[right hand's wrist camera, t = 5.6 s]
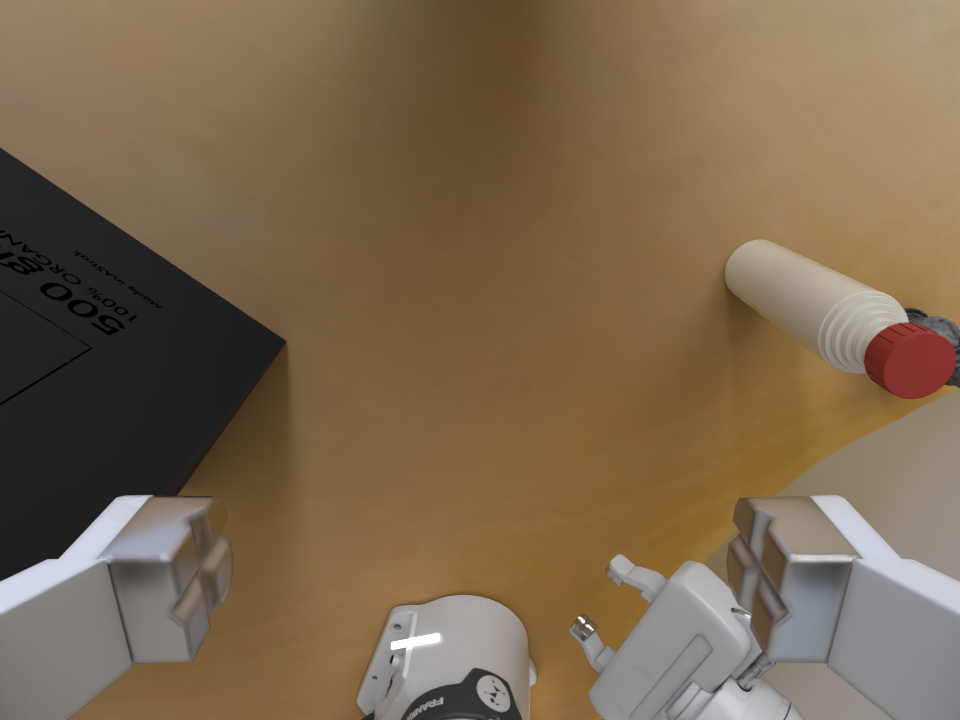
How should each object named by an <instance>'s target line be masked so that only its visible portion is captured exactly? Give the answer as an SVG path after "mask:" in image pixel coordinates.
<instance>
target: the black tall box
mask: <svg viewBox="0 0 960 720" xmlns="http://www.w3.org/2000/svg"><path fill="white" fill-rule="evenodd" d="M3 235H5V237H4V238H3V239H2V236H3ZM9 238H12V239H13V242H14V243H13V245H12V244H11V243H12V240H11V239H9ZM16 242H19V243H20V244H17V245H15V246H14V244H15V243H16ZM25 247H26V251H28V252H23V251H22V250H24V251H25ZM29 250H31V252H30V251H29ZM37 256H40V257H41V258H42V259H41V258H38V257H37ZM34 258H36V261H35V260H34ZM19 260H22V261H24V263H25V265H24V264H23V263H22V262H20V261H19ZM35 262H36V263H38V264H39V265H37V264H36V263H35ZM17 263H18V264H20V265H21V266H24V267H23V268H22V267H20V266H16V265H17ZM41 263H44V264H41ZM45 263H47V264H51V265H45ZM28 265H30V266H32V268H33V272H30V271H31V268H30V267H27V266H28ZM52 267H54V269H53V270H52V271H53V272H52V271H51V268H52ZM56 267H58V268H59V270H60V273H57V272H56V271H58V269H56ZM25 268H27V273H30V274H29V275H27V274H26V273H25V271H24V270H25ZM35 271H37V272H36V273H34V272H35ZM62 274H65V275H66V277H65V276H63V277H65V279H64V278H63V277H62ZM67 281H70V282H74V283H69V282H67ZM76 282H77V284H75V283H76ZM79 282H80V283H81V284H79ZM46 283H48V284H50V283H51V285H50V287H49V286H48V285H47V284H46ZM54 283H56V285H55V287H52V286H53V284H54ZM78 284H79V285H78ZM58 285H60V286H58ZM0 290H1V291H3V292H4V293H6V294H7V295H9V296H11V297H12V298H14V299H15V300H17V301H19V302H20V303H22V304H23V305H25V306H27V307H28V308H26V307H25V306H23V305H21V304H20V303H18V302H17V301H15V300H13V299H12V298H10V297H9V296H7V295H5V294H4V293H2V292H1V291H0V582H1V581H3V580H5V579H7V578H9V577H11V576H13V575H15V574H18V573H20V572H22V571H24V570H26V569H28V568H30V567H32V566H34V565H37V564H39V563H41V562H43V561H45V560H47V559H59V558H60V557H61V556H62V555H63V554H64V553H65V551H66V550H67V549H68V548H69V547H70V546H71V545H72V544H73V543H74V542H75V541H76V540H77V539H78V538H79V537H80V536H81V535H82V533H83V532H84V531H85V530H86V529H87V528H88V527H89V526H90V525H91V524H92V523H93V522H94V521H95V520H96V519H97V518H98V517H99V515H100V514H101V513H102V512H103V511H104V510H105V509H106V508H107V507H108V506H109V505H110V504H111V503H112V502H113V501H114V500H115V499H116V498H117V497H121V496H125V495H153V496H157V495H160V496H177V495H178V493H179V492H180V491H181V489H182V488H183V487H184V485H185V484H186V482H187V481H188V480H189V478H190V477H191V475H192V474H193V472H194V471H195V470H196V468H197V467H198V465H199V464H200V463H201V461H202V460H203V458H204V457H205V456H206V454H207V453H208V451H209V450H210V449H211V447H212V446H213V444H214V443H215V442H216V440H217V439H218V437H219V436H220V434H221V433H222V432H223V430H224V429H225V427H226V426H227V425H228V423H229V422H230V420H231V419H232V418H233V416H234V415H235V413H236V412H237V411H238V409H239V408H240V406H241V405H242V404H243V402H244V401H245V399H246V398H247V396H248V395H249V394H250V392H251V391H252V389H253V388H254V387H255V385H256V384H257V382H258V381H259V380H260V378H261V377H262V375H263V374H264V373H265V371H266V370H267V368H268V367H269V366H270V364H271V363H272V361H273V360H274V358H275V357H276V356H277V354H278V353H279V351H280V350H281V349H282V347H283V346H284V344H285V343H286V342H287V341H285V340H284V339H282V338H281V337H279V336H278V335H276V334H275V333H273V332H272V331H270V330H269V329H267V328H266V327H265V326H263V325H262V324H260V323H259V322H257V321H256V320H254V319H253V318H251V317H250V316H248V315H247V314H245V313H244V312H242V311H241V310H239V309H238V308H236V307H235V306H233V305H232V304H230V303H229V302H228V301H226V300H225V299H223V298H222V297H220V296H219V295H217V294H216V293H214V292H213V291H211V290H210V289H208V288H207V287H205V286H204V285H202V284H201V283H199V282H198V281H196V280H195V279H193V278H192V277H191V276H189V275H188V274H186V273H185V272H183V271H182V270H180V269H179V268H177V267H176V266H174V265H173V264H171V263H170V262H168V261H167V260H165V259H164V258H162V257H161V256H159V255H158V254H157V253H155V252H154V251H152V250H151V249H149V248H148V247H146V246H145V245H143V244H142V243H140V242H139V241H137V240H136V239H134V238H133V237H131V236H130V235H128V234H127V233H125V232H124V231H122V230H121V229H120V228H118V227H117V226H115V225H114V224H112V223H111V222H109V221H108V220H106V219H105V218H103V217H102V216H100V215H99V214H97V213H96V212H94V211H93V210H91V209H90V208H88V207H87V206H85V205H84V204H83V203H81V202H80V201H78V200H77V199H75V198H74V197H72V196H71V195H69V194H68V193H66V192H65V191H63V190H62V189H60V188H59V187H57V186H56V185H54V184H53V183H51V182H50V181H48V180H47V179H46V178H44V177H43V176H41V175H40V174H38V173H37V172H35V171H34V170H32V169H31V168H29V167H28V166H26V165H25V164H23V163H22V162H20V161H19V160H17V159H16V158H14V157H13V156H11V155H10V154H9V153H7V152H6V151H4V150H3V149H1V148H0ZM42 292H43V293H45V294H42ZM49 296H50V297H51V299H50V298H48V297H49ZM31 310H33V311H35V312H36V313H38V314H39V315H41V316H43V317H44V318H46V319H47V320H49V321H47V320H45V319H44V318H42V317H41V316H39V315H37V314H36V313H34V312H33V311H31ZM71 311H72V312H71ZM75 313H77V314H78V315H80V316H81V317H80V316H78V315H75ZM52 323H54V324H55V325H57V326H59V327H60V328H62V329H60V328H58V327H57V326H55V325H53V324H52ZM90 323H92V324H93V325H91V324H90ZM70 334H71V335H73V336H75V337H76V338H78V339H79V340H78V339H76V338H74V337H73V336H71V335H70ZM68 361H69V363H68Z"/></svg>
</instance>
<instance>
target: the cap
mask: <svg viewBox="0 0 960 720" xmlns="http://www.w3.org/2000/svg"><path fill="white" fill-rule="evenodd" d="M955 364H956V353H955V350H954V347H953V346H952V344H951V343H950V342H949V341H948V340H947V339H946V338H944V337H943V336H941V335H938V333H937V332H935V331H933V330H931V329H929V328H927V327H925V326H923V325H921V324H920V325H918V324H915V323H912V322H910V323H909V322H904V323H898V324H894V325H891V326H888V327H887V328H885V329H883V330H881V331H880V332H879V333H878V334H877V335H876V336H875V337H874V338H873V339H872V340H871V341H870V343H869V345H868V347H867V349H866V351H865V355H864V366H865V369H866V371H865V372H867V374H868V375H869V376H870V379H871V380H873V381H874V382H875V383H877V384H878V385H880V386H881V387H883V388H884V389H886V390H887V391H889V392H890V393H892V394H893V395H896V396H898V397H901V398H905V399H917V398H922V397H925V396H928V395H930V394H932V393H934V392H936V391H937V390H938V389H940V388H941V387H942V386H943V385H944V384H945V383H946V382H947V381H948V379H949V378H950V377H951V375H952V373H953V371H954V368H955Z"/></svg>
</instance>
